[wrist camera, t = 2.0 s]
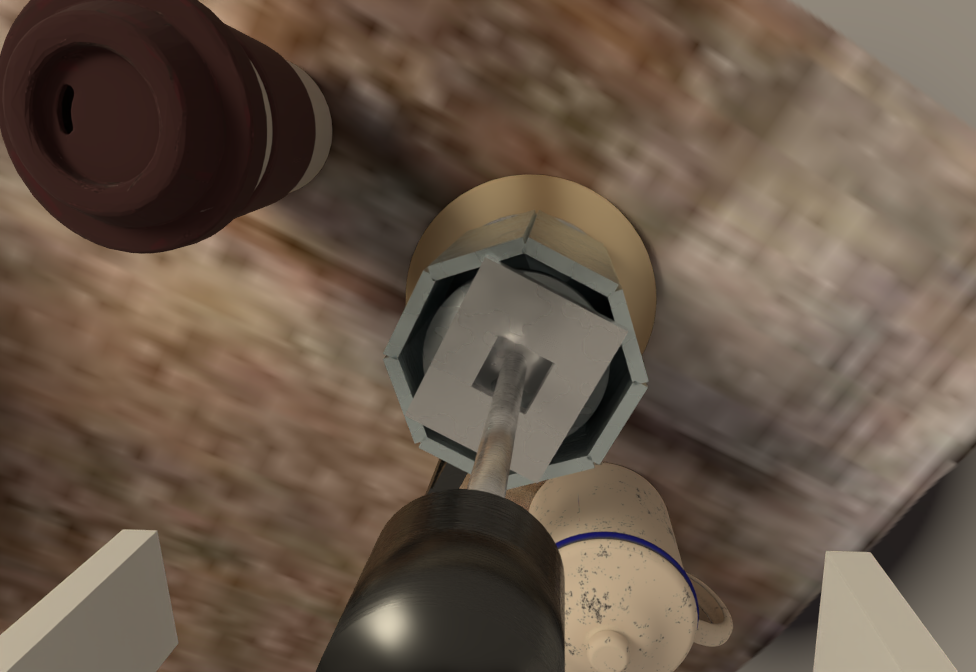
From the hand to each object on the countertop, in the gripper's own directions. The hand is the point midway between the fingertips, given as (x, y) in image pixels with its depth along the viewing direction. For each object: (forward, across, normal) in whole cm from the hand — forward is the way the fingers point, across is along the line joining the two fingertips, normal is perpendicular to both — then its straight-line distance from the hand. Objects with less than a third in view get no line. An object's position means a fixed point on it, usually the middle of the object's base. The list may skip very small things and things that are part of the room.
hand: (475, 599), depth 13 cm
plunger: (+16, 0, 0) cm, 16 cm away
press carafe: (+26, -1, -1) cm, 26 cm away
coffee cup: (+27, -14, +10) cm, 32 cm away
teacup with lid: (+27, +5, -15) cm, 31 cm away
